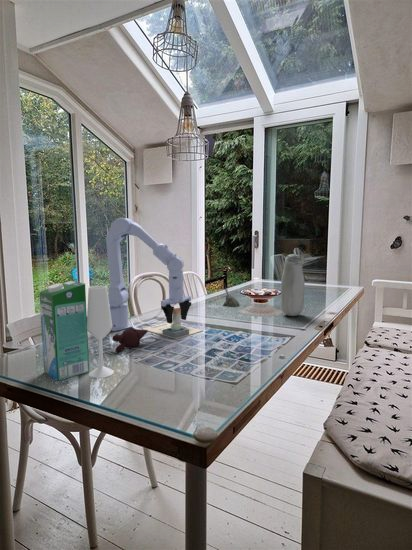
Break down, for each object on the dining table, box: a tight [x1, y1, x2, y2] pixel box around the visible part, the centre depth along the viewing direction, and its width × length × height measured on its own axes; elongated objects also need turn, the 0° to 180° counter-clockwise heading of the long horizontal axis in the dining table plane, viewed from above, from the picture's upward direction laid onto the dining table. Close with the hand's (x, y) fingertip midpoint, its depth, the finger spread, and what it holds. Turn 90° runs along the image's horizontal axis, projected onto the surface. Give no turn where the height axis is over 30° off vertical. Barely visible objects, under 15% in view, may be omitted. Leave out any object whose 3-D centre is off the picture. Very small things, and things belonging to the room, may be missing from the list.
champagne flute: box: [86, 285, 115, 379], centre depth 103 cm, size 7×7×24 cm
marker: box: [172, 307, 182, 325], centre depth 150 cm, size 3×3×8 cm
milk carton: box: [38, 280, 90, 382], centre depth 103 cm, size 9×9×25 cm
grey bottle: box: [280, 253, 305, 317], centre depth 170 cm, size 10×10×28 cm
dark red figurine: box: [112, 327, 149, 353], centre depth 127 cm, size 7×7×15 cm
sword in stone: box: [222, 282, 241, 308], centre depth 195 cm, size 10×8×12 cm
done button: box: [171, 324, 182, 332], centre depth 141 cm, size 4×4×3 cm
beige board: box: [141, 322, 204, 340], centre depth 148 cm, size 14×20×1 cm
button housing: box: [162, 327, 189, 339], centre depth 141 cm, size 7×7×2 cm
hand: (176, 321), depth 151 cm, fingers open, 7 cm apart
